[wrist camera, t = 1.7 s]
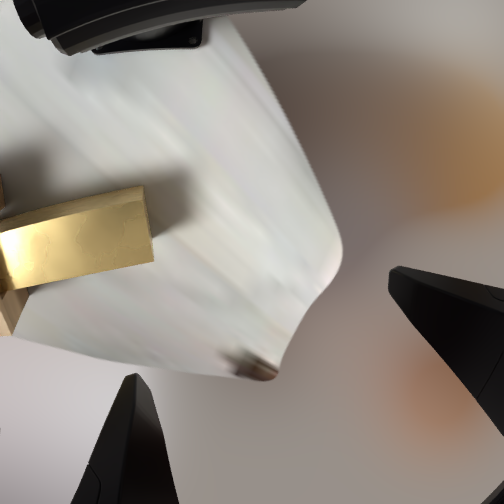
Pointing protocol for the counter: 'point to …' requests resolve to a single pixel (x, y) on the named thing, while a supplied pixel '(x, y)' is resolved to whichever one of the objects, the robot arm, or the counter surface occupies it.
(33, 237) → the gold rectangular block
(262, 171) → the counter surface
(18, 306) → the light wood notched block
